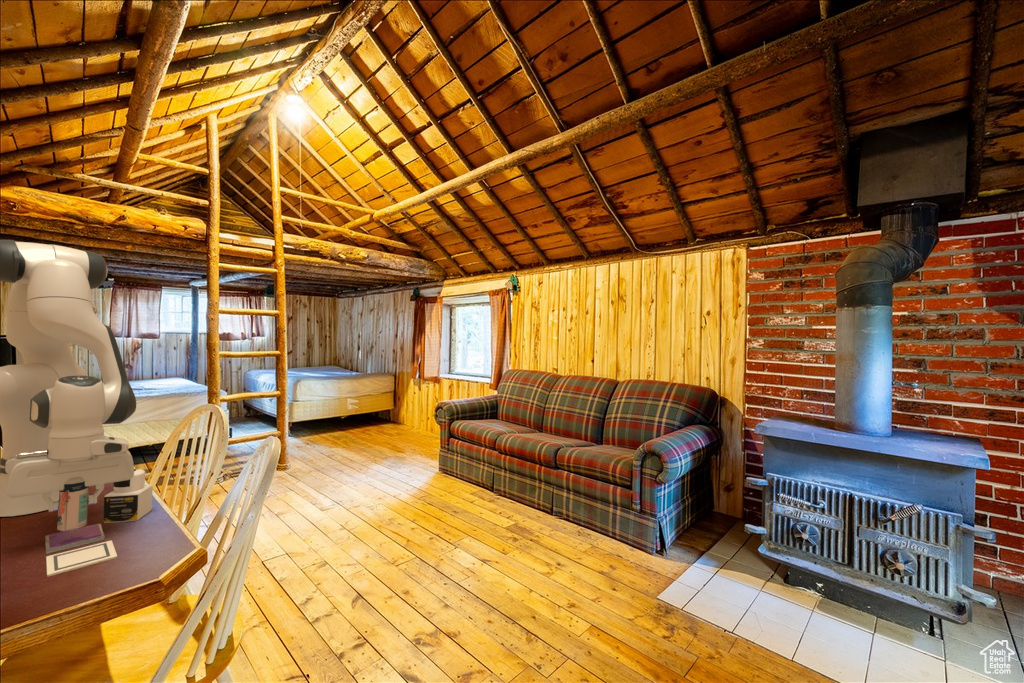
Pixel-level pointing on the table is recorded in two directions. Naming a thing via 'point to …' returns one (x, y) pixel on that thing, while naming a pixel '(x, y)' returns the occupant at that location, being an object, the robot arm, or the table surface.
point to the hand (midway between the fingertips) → (73, 506)
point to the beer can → (73, 505)
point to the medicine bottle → (128, 499)
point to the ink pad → (74, 538)
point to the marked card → (80, 558)
